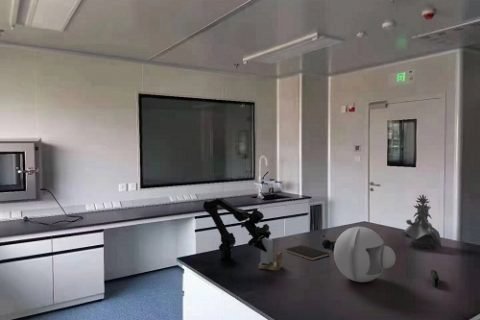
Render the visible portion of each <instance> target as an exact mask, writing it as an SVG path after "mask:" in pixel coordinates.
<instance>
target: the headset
mask: <svg viewBox="0 0 480 320" xmlns="http://www.w3.org/2000/svg"><path fill="white" fill-rule="evenodd" d="M322 237H323V238H326V237H325V235H324V234H323V235H322ZM335 243H336V241H331V240H330V239H323V241H322V242H321V245H322V246H323V247H324V248H327V249H328V248H329V249H330V250H331V251H333V252H334V246H335Z"/></svg>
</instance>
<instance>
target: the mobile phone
mask: <svg viewBox="0 0 480 320" xmlns="http://www.w3.org/2000/svg"><path fill="white" fill-rule="evenodd" d="M430 279H431V283H432V285H433V286H434V287H436V288H437V289H439V290H440V276H439V274H438V272H437V271H436V270H435V269H431V270H430Z"/></svg>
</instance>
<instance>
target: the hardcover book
mask: <svg viewBox="0 0 480 320" xmlns="http://www.w3.org/2000/svg"><path fill="white" fill-rule="evenodd" d="M285 252H287V253H289V254H293V255H295V256H298V257H301V258H303V257H304V259H307V260H310V261H314V260H317V259H320V258H324V257H327V256H329V255H330V254H329V252H325V251H323V250H320V249H316V248H313V247H309V246H306V245H304V244H300V245H296V246H292V247H288V248H285Z"/></svg>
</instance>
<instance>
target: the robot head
mask: <svg viewBox="0 0 480 320" xmlns="http://www.w3.org/2000/svg"><path fill="white" fill-rule="evenodd" d="M335 242H336V243H335V246H334V251H333V258H334V262H335V264H336V267H337V269H338V270H339V271H340V273H341V274H342V275H343V276H345V277H346V278H347V279H349V280H351V281H353V282H358V283H367V282H369V283H370V282H372V281H373V280H376V279H377V278H378V277H379V276H381V274H382V273H383V272H384V269H389V268H391V267H393V266H394V264H395V262H396V259H397V257H396V254H395V251H394V250H393V248H391V247H390V246H387V245H383V244H384V242H385V241H384V240H383V239H382V237H380V235H379V234H378V233H377V232H375V231H374V229H373V230H372V229H370V228H368V227H365V226H353V227H350V228H347V229H346V230H344V231H343V232H342V233H341V234H340V235H339V236H338V237H337V239H336V241H335Z"/></svg>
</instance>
